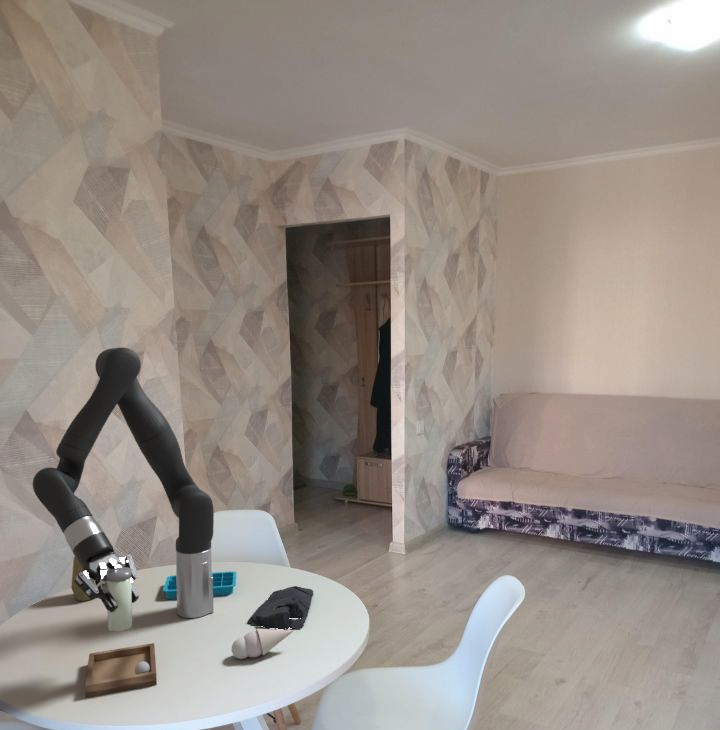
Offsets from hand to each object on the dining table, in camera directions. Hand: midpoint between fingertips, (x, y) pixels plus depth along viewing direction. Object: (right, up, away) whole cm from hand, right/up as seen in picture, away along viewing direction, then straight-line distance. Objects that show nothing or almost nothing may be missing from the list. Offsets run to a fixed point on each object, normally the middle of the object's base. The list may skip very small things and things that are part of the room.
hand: (125, 604), depth 138 cm
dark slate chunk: (+31, -15, +33) cm, 48 cm away
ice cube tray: (+5, -14, +47) cm, 50 cm away
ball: (+4, -14, -1) cm, 14 cm away
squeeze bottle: (-27, -14, +43) cm, 52 cm away
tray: (-1, -16, +2) cm, 16 cm away
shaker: (-2, -5, +1) cm, 6 cm away
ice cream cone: (+28, -16, +10) cm, 34 cm away
